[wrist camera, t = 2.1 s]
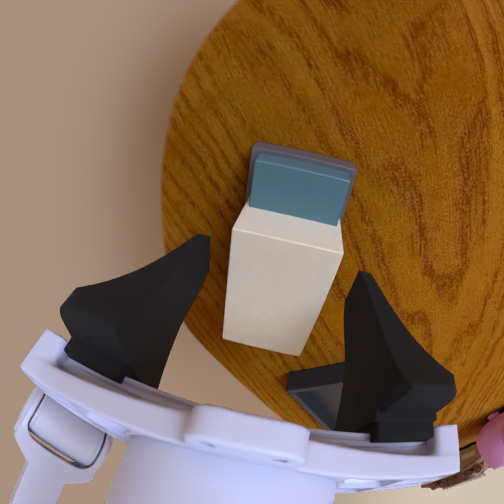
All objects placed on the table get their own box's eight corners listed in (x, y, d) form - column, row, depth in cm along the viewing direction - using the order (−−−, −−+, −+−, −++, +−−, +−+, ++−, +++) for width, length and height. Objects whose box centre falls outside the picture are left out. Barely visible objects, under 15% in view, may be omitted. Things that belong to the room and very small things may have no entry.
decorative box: (497, 437, 34) (500, 469, 26) (437, 464, 45) (437, 492, 38) (484, 436, 32) (487, 472, 24) (416, 464, 44) (414, 496, 36)
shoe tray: (288, 372, 23) (285, 390, 22) (383, 352, 20) (385, 373, 18) (338, 427, 30) (337, 440, 28) (402, 415, 26) (402, 429, 25)
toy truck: (306, 306, 18) (301, 361, 15) (237, 290, 19) (218, 341, 15) (354, 162, 12) (369, 199, 9) (256, 141, 13) (232, 168, 9)
